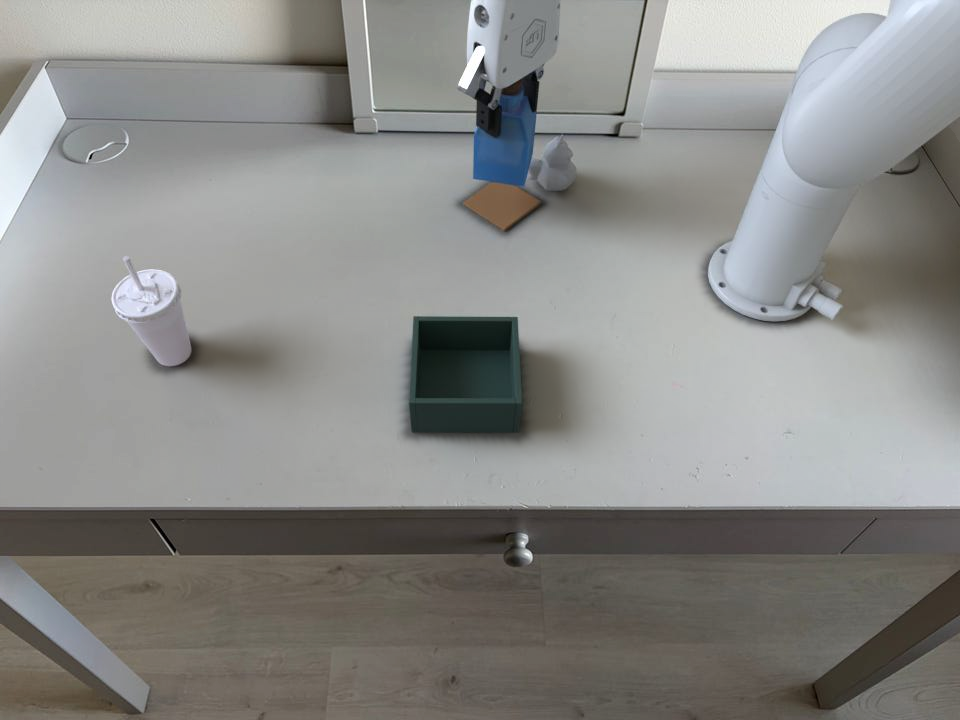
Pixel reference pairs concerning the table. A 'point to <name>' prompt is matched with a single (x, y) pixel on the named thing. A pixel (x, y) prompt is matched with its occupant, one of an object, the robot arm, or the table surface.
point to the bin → (465, 374)
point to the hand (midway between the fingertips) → (506, 118)
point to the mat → (502, 204)
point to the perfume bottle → (507, 141)
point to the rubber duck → (554, 166)
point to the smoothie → (154, 312)
